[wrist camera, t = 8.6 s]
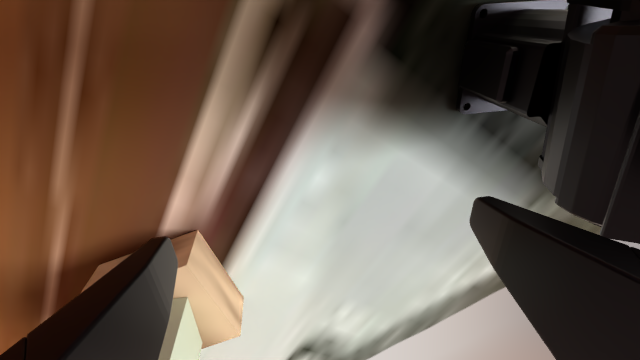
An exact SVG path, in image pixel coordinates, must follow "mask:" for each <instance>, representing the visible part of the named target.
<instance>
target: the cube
mask: <svg viewBox="0 0 640 360" xmlns="http://www.w3.org/2000/svg"><path fill="white" fill-rule="evenodd" d="M201 347H202V340H201V337H200V334H199V331H198V328H197V324H196V321H195V318H194V315H193V312H192V309H191V306H190V303H189V300H188V297H185V298H176V299H173V301H172V308H171V313H170V318H169V322H168V326H167V330H166V334H165V337H164V341H163V344H162V348H161V351H160V355H159V359H158V360H199V357H200V352H201Z"/></svg>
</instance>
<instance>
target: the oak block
mask: <svg viewBox="0 0 640 360" xmlns="http://www.w3.org/2000/svg"><path fill="white" fill-rule="evenodd" d="M171 242H172V245H173V248H174V251H175V253H176V256H177V260H178V269H177V276H176V282H175V289H174V295H173V299H176V298H185V297H188V300H189V303H190V306H191V309H192V312H193V315H194V318H195V321H196V324H197V328H198V331H199V334H200V337H201V340H202V347H201V349H203V348H206V347H209V346H212V345H215V344H218V343H221V342H223V341H226V340H229V339H232V338H235V337H238V336H240V333H241V322H242V311H243V299H244V297H243V296H242V294H241V293H240V291H239V290H238V288H237V287H236V285H235V284H234V283H233V281H232V280H231V278H230V277H229V275H228V274H227V272H226V271H225V269H224V268H223V266H222V265H221V263H220V262H219V260H218V259H217V257H216V256H215V254H214V253H213V252H212V250H211V249H210V247H209V246H208V244H207V243H206V241H205V240H204V238H203V237H202V235H201V234H200V232H199V231H198V230H196V231H193V232H191V233H188V234H185V235H182V236H179V237H177V238H174V239H171ZM131 254H132V253H131ZM131 254H129V255H126V256H123V257H120V258H117V259H115V260H112V261H109V262H106V263H103V264H100V265H99V266H98V267H97V269H96V270H95V272H94V273H93V275H92V276H91V278H90V279H89V281H88V282H87V284H86V286H85V287H84V289H83V290H82V292H83V291H84V290H86V289H87V288H88V287H90V286H91V285H92V284H93V283H95V282H96V281H97V280H99V279H100V278H101V277H102V276H104V275H105V274H106V273H108V272H109V271H110V270H112V269H113V268H114V267H115V266H117V265H118V264H119V263H121V262H122V261H123V260H124V259H126V258H127V257H128V256H130V255H131ZM82 292H81V293H82Z"/></svg>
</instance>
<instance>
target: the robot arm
mask: <svg viewBox="0 0 640 360" xmlns="http://www.w3.org/2000/svg"><path fill="white" fill-rule="evenodd" d="M567 6H568V9H566V7H567ZM482 9H483V11H484V14H483V16H482V17H481V18H480V16H479V14H480V11H481V10H482ZM459 86H460V89H459V95H458V101H457V110H458V111H459V112H461V113H462V114H472V113H482V112H492V111H503V110H508V111H511V112H513V113H515V114H517V115H520V116H522V117H524V118H527V119H529V120H531V121H534V122H536V123H538V124H540V125H543V126H545V127H547V129H546V135H545V140H544V146H543V152H542V155H540V156H539V162H538V166H539V167H540V169H541V170H542V179H543V183H544V185H545V186H546V187H547V188H548V189H549V190H550V192H551V193H552V194H553V195H554V196H556V198H555V203H556V204H557V205H558V206H560V207H561V208H563V209H564V210H566V211H568V212H569V213H571V214H573V215H574V216H577V217H579V218H581V219H584V220H586V221H588V222H590V223H592V224H594V225H597V226H600V227H601V230H600V235H601V236H600V235H597V234H594V233H592V232H589V231H586V230H583V229H580V228H578V227H575V226H572V225H569V224H566V223H564V222H561V221H558V220H555V219H552V218H550V217H547V216H544V215H541V214H538V213H536V212H533V211H530V210H527V209H524V208H522V207H519V206H516V205H513V204H510V203H508V202H505V201H502V200H499V199H496V198H494V197H490V196H486V197H478V198H476V199H475V200H474V203H473V207H472V212H471V216H470V226H471V228H472V230H473V232H474V234H475V236H476V238H477V239H478V241H479V243H480V245H481V247H482V249H483V250H484V252H485V254H486V256H487V258H488V260H489V261H490V263H491V265H492V267H493V268H494V270H495V271H496V273H497V274H498V276H499V277H500V279H501V280H502V282H503V283H504V285H505V286H506V288H507V289H508V291H509V292H510V293H511V295H512V296H513V298H514V299H515V301H516V302H517V303H518V305H519V307H520V308H521V309H522V311H523V312H524V314H525V315H526V317H527V318H528V320H529V321H530V322H531V324H532V325H533V327H534V328H535V330H536V331H537V333H538V334H539V336H540V337H541V339H542V340H543V341H544V343H545V344H546V346H547V347H548V349H549V350H550V351H551V353H552V354H553V356H554V357H555V359H556V360H640V250H639V249H637V248H634V247H629V246H628V245H625V244H623V243H619V242H617V241H614V240H611V239H615V240H621V241H628V242H634V243H639V244H640V0H539V1H523V2H506V3H490V4H480V5H477V6H476V7H475V8H474V10H473V12H472V15H471V22H470V28H469V34H468V40H467V43H466V44H465V48H464V54H463V60H462V66H461V73H460V79H459ZM466 103H467V107H466V108H464V109H463V106H464V105H465V104H466ZM177 269H178V260H177V256H176V253H175V251H174V248H173V245H172V242H171V240H170V238H169V237H167V236H164V237H156V238H152V239H150V240H149V241H148V242H146V243H145V244H144V245H143V246H141V247H140V248H139V249H137V250H136V251H135V252H134V253H132V254H131V255H130V256H128V257H127V258H126V259H124V260H123V261H122V262H121V263H119V264H118V265H117V266H115V267H114V268H113V269H112V270H110V271H109V272H108V273H106V274H105V275H104V276H102V277H101V278H100V279H99V280H97V281H96V282H95V283H93V284H92V285H91V286H90V287H88V288H87V289H86V290H84V291H83V292H82V293H80V294H79V295H78V296H77V297H75V298H74V299H73V300H71V301H70V302H69V303H67V304H66V305H65V306H64V307H62V308H61V309H60V310H58V311H57V312H56V313H55V314H53V315H52V316H51V317H49V318H48V319H47V320H45V321H44V322H43V323H42V324H40V325H39V326H38V327H36V328H35V329H34V330H32V331H31V332H30V333H29V334H28V335H27V338H26V337H24V338H22V339H21V340H19V341H18V342H17V343H16V344H14V345H13V346H12V347H10V348H9V349H8V350H7V351H5V352H4V353H3V354H1V355H0V360H158V359H159V355H160V351H161V348H162V344H163V341H164V337H165V334H166V330H167V326H168V322H169V318H170V313H171V308H172V301H173V295H174V289H175V282H176V276H177Z"/></svg>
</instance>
